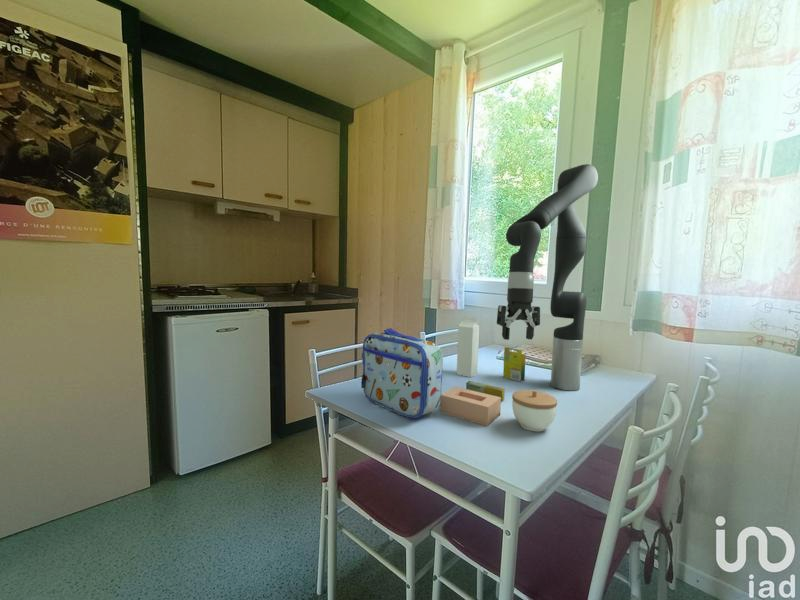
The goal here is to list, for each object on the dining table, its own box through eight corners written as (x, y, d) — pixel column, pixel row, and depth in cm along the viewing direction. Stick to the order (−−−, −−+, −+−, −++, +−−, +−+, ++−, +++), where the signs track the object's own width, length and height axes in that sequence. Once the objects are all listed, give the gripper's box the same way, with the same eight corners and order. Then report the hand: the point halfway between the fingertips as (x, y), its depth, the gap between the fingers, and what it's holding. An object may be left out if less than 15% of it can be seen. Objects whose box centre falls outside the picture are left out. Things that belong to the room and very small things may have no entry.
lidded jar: (503, 425, 90) (504, 390, 90) (522, 414, 98) (524, 381, 97) (544, 440, 83) (546, 401, 82) (562, 426, 90) (564, 391, 89)
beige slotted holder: (454, 402, 105) (455, 386, 105) (500, 414, 97) (501, 397, 96) (439, 412, 98) (440, 394, 97) (487, 426, 90) (488, 407, 89)
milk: (463, 371, 139) (465, 316, 137) (477, 374, 135) (479, 317, 134) (456, 374, 134) (458, 317, 132) (471, 377, 130) (473, 319, 129)
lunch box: (353, 398, 107) (354, 326, 106) (379, 390, 115) (380, 323, 113) (420, 428, 88) (422, 341, 86) (445, 416, 95) (448, 336, 93)
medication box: (465, 394, 113) (465, 382, 113) (468, 392, 115) (469, 380, 115) (501, 403, 106) (502, 390, 106) (504, 400, 109) (505, 387, 108)
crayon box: (524, 380, 128) (526, 349, 127) (520, 382, 126) (522, 350, 125) (507, 375, 134) (508, 345, 133) (502, 377, 132) (504, 346, 131)
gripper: (531, 288, 114) (528, 337, 115) (493, 286, 110) (491, 337, 110) (547, 288, 107) (544, 341, 108) (508, 286, 103) (505, 341, 103)
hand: (517, 339), depth 109 cm, fingers open, 8 cm apart
